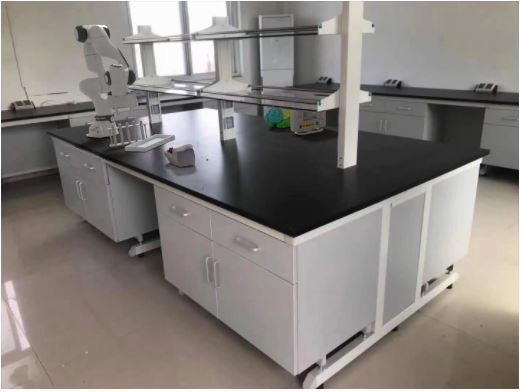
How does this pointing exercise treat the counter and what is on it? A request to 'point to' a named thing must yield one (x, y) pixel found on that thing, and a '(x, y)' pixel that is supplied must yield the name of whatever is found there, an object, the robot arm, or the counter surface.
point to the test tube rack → (127, 133)
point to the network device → (307, 121)
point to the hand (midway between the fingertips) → (124, 114)
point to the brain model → (278, 117)
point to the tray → (149, 143)
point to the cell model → (181, 155)
